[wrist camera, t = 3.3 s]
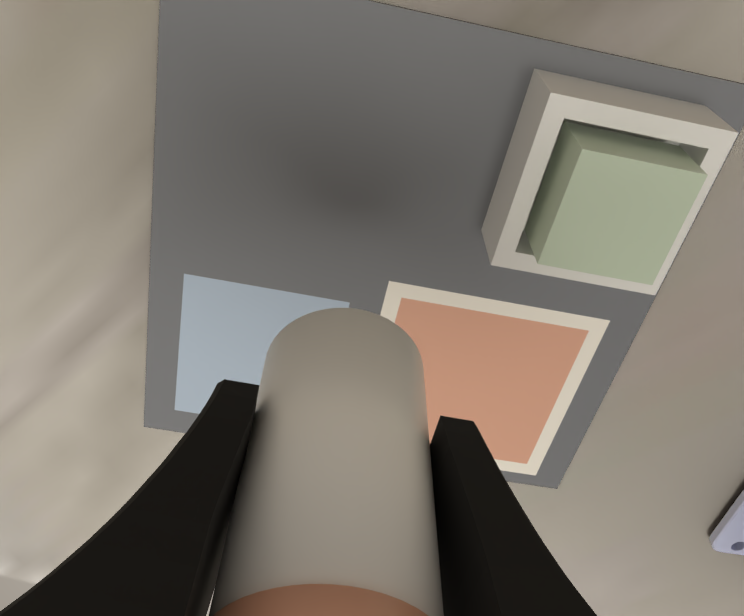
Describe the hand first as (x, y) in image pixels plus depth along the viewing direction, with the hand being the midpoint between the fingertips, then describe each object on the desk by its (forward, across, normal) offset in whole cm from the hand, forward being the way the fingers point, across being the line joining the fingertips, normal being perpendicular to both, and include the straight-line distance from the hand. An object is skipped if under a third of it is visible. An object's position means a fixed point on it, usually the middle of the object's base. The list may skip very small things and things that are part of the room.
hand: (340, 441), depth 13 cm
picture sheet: (+9, -2, +2) cm, 9 cm away
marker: (+2, 0, 0) cm, 2 cm away
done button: (+8, -6, -3) cm, 10 cm away
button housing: (+9, -6, -3) cm, 11 cm away
